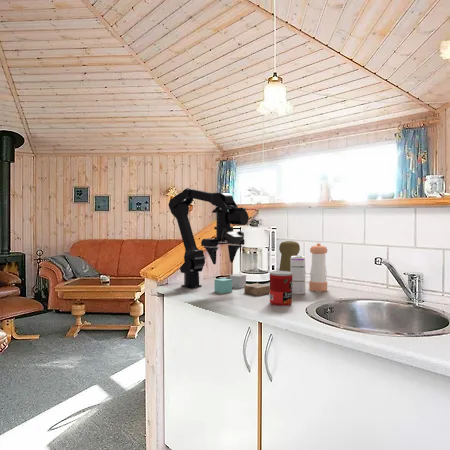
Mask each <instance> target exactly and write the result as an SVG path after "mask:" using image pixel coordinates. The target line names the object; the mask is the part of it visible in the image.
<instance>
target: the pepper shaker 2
mask: <svg viewBox="0 0 450 450" xmlns="http://www.w3.org/2000/svg"><path fill="white" fill-rule="evenodd" d="M309 251H310V253H311V266H310V272H309V277H310V278H309V283H308V284H309V285H308V290H309V291H313V292H327V291H328V281H327V274H328V273H327V265H326V254H327V253H328V248H327V247H326V246H325V245H321V243H320V242H319V243H317V244H316V245H312V246H310V249H309Z"/></svg>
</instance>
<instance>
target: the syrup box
mask: <svg viewBox="0 0 450 450" xmlns="http://www.w3.org/2000/svg"><path fill="white" fill-rule="evenodd" d="M290 272H292V295H305V294H306V256H305V255H298V256H291V258H290Z"/></svg>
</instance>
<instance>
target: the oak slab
mask: <svg viewBox="0 0 450 450" xmlns="http://www.w3.org/2000/svg"><path fill="white" fill-rule="evenodd" d="M243 288H244V289H243V290H244V294H247V295H253V296H256V297H257V296H258V297H259V296H262V295H268V294H270V284H269V285H267V284H263V283H257V282H256V283H251V284H246V285H244V287H243Z"/></svg>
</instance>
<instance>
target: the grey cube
mask: <svg viewBox="0 0 450 450" xmlns="http://www.w3.org/2000/svg"><path fill="white" fill-rule="evenodd" d="M229 279H232V288H234V289H235V288H237V289H242V288H244V285H247V275H246V274H239V273H234V274H230V275H229Z"/></svg>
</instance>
